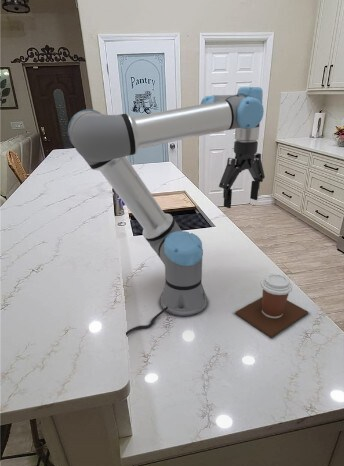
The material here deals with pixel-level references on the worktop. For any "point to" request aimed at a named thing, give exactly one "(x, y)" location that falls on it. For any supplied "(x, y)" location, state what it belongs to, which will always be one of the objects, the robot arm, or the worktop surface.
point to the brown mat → (271, 325)
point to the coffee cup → (275, 294)
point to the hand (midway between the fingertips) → (240, 203)
